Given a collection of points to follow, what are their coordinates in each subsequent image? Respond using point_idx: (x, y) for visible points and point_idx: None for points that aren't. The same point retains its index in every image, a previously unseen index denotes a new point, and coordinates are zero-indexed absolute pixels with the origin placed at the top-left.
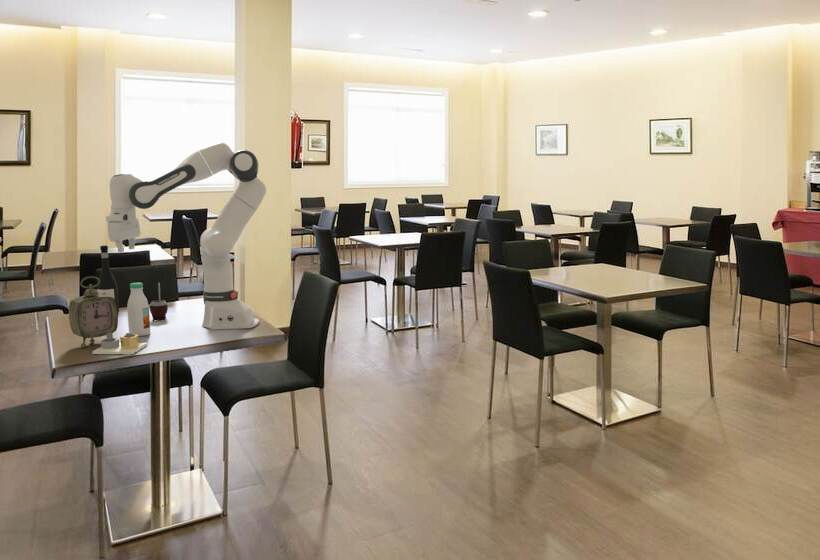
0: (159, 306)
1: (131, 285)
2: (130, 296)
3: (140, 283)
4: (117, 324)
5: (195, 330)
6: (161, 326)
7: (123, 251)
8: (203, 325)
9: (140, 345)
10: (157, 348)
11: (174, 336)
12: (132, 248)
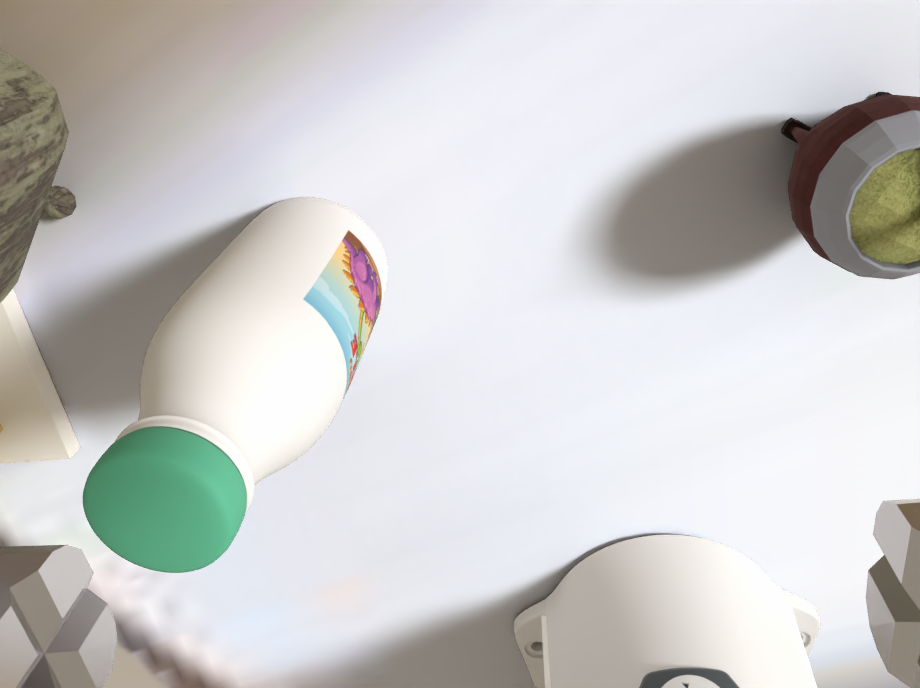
0: (816, 242)
1: (84, 488)
2: (146, 389)
3: (164, 565)
4: (9, 290)
5: (492, 543)
6: (582, 293)
7: (101, 648)
8: (585, 564)
9: (7, 452)
10: (63, 515)
11: (325, 492)
12: (874, 629)
